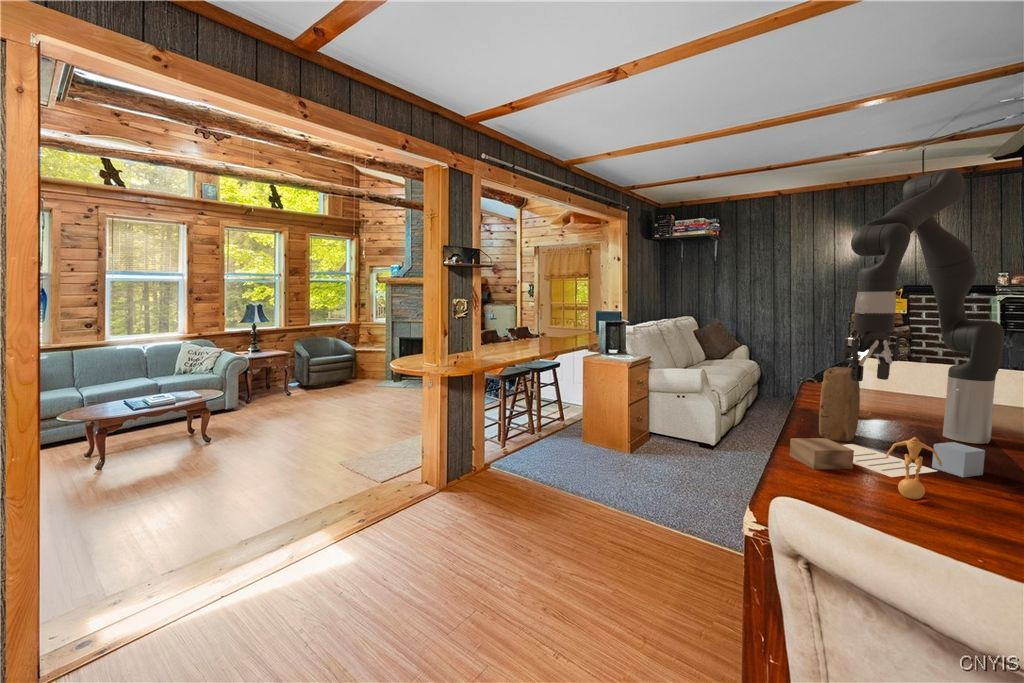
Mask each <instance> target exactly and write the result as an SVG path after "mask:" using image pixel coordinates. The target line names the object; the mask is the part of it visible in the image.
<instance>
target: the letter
mask: <svg viewBox="0 0 1024 683" xmlns="http://www.w3.org/2000/svg"><path fill="white" fill-rule="evenodd" d="M842 445H843V446H845V447H847V448H850V449H852V450H854V457H853V465H857V466H860V467H863V468H865V469H868V470H871V471H874V472H875V473H879V474H882V475H885V476H887V477H890V478H895V477H901V476H904V477H905V476H906V469H905V467H906V466H905V463H904V461H905V459H902V458H899V457H895V456H893V455H890V456H889V457H887V458H886V455H887V453H883V452H880V451H877V450H873V449H872V448H867V447H864V446H861V445H858V444H856V443H849V444H842ZM908 467H909V468H910V470H909V476H911V475H915V474H916V469H918V468H917V465H916V464H915V462H912V463H911V464H909V466H908ZM934 472H938V469H935V468H932V467H931V468H930V467H927V466H924V465H922V467H921V469H920V472H919V475H920V474H926V473H927V474H928V473H934Z"/></svg>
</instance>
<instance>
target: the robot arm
mask: <svg viewBox="0 0 1024 683" xmlns="http://www.w3.org/2000/svg"><path fill="white" fill-rule="evenodd" d="M963 176H964V175H963V174H962V173H961V172H960V171H959V170H958V169H955V168H946V169H940V170H937V171H934V172H930V173H928V174H927V173H926V174H924V175H920V176H916V177H914V178H910V179H908V180H906V181H905V183H904V184H903V187H902V199H903V202H900V203H899V204H897V205H896V206H894V207H892V208H891V209H890V210H889V211H888V212H886V214H884V216H882V217H879V218H877V219H874V220H872V221H870V222H868V223H866V224H864V225H862V226H860V227H859V228H858V229H857V230H856V231H855V232H854V233H853V235H852V237H851V240H850V241H851V242H850V247H851V249H852V252H853V253H854V254H856V255H857V256H859V257H875V256H876V257H881V256H883V258H882V260H881V261H880V262H879V263H877V264H875V265H874V264H873V265H870V266H866V267H863V268H861V269H860V270H859V272H858V281H857V292H856V293H857V294H856V298H855V304H854V318H853V319H854V320H853V330H854V331H855V332H857V333H856V334H857V335H856V337H855V336H854V337H852V336H846V337H845V339H844V352H843V353H844V354H843V361H844V363H848V364H850V365H851V367H850V368H851V379H852V380H853V381H859V382H862V381H863V380H864V370H865V366H864V363H865V362H866V361H867V359H869V358H870V357H871V356H872V355H873V356H874V357H875V358H876V360H877V361H878V363H877V370H876V378H877V380H878V379H879V380H882V381H883V380H885V381H887V380H888V379H889V377H890V370H891V365H892V364H893V362H898V360H899V356H900V344H901V337H900V336H896V335H890V333H891V332H894V331H895V322H896V311H897V310H896V309H897V296H896V293H897V292H896V291H897V280H898V273H899V269H900V266H901V264H902V260H903V258H904V256H905V254H906V252H907V249H908V247H909V245H910V242H911V234H912V233H913V232H914V231H915V232H916V235H917V237H918V241H919V244H920V248H921V251H922V252H921V253H922V255H923V259H924V263H925V267H926V270H927V275H928V278H929V280H930V283H931V286H932V289H933V294H934V298H935V301H936V306H937V312H938V317H939V324H940V330H941V336H942V340H943V343H944V345H945V347H946V348H948V350H950V351H952V352H955V353H963V354H970V357H969V360H968V361H966V362H964V363H961V364H956V365H952V366H950V367H949V368H948V371H947V373H948V374H947V384H946V398H945V409H944V420H943V428H942V436H943V437H944V438H946V439H949V440H953V441H957V442H962V443H970V444H982V445H983V444H985V443H986V444H989V443H990V442H991V440H992V439H991V438H992V429H993V419H994V410H995V409H994V406H993V405H994V397H995V396H994V395H995V389H996V388H995V386H996V378H997V374H998V372H999V369H1000V367H1001V360H1002V356H1003V349H1004V345H1005V331H1004V328H1003V326H1002V325H1001V324H1000V323H999V322H997V321H995V320H994V321H993V320H982V319H981V320H978V319H969V318H968V316H967V314H966V310H965V309H966V308H965V300H966V297H967V295H968V294H969V291H970V290H971V288H972V287H973V285H974V282H975V280H976V277H977V265H976V262H975V259H974V256H973V253H972V250H971V248H970V247H969V245H967V244H966V243H965V242H963V240H961V239H959V238H958V237H956V236H955V235H954V234H952V233H950V232H949V231H947V230H946V229H945V228H944V227H942V225H940V223H939V222H938V221H937V220H936V218H935V216H934V215H936V214H937V213H939V212H941V211H943V210H944V209H946V208H948V207H950V206H952V205H954V204H955V203H958V202H959V201H960V200H961V199H962V198H963V196H964V193H965V191H966V188H965V187H966V183H965V179H964V177H963Z"/></svg>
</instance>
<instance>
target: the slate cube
mask: <svg viewBox="0 0 1024 683" xmlns="http://www.w3.org/2000/svg"><path fill="white" fill-rule="evenodd" d="M933 449H934V450H935V451H936V452H937V455H938V456H939V458H940V460H941V462H942V467H941V466H940V464H938V463H939V461H938V460H937V459H936V457H935V455H934V453H933V452H932V462H931V469H934V470H937V471H942V472H945V473H948V474H951V475H955V476H958V477H961V478H968V477H975V476H983V474H984V467H985V466H984V465H985V456H986V450H985V449H981V448H978V447H973V446H969V445H965V444H963V443H958V442H955V441H951V442H949V441H948V442H939V443H933Z"/></svg>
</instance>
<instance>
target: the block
mask: <svg viewBox="0 0 1024 683" xmlns="http://www.w3.org/2000/svg"><path fill="white" fill-rule="evenodd" d="M820 387H821V388H820V390H821V391H820V396H819V397H820V398H819V414H818V434H819V436H821V438H827V439H829V440H832V441H834V442H835V441H836V442H837V441H838V442H851V441H854V438H855V435H856V433H857V429H858V423H859V417H860V416H859V415H860V404H861V403H860V402H861V401H860V400H861V399H860V398H861V396H860V393H861V391H860V390H861V389H860V381H853V380H852V379H851V367H845V366H844V367H843V366H841V367H840V366H833V367H829V368H828V369H826V370H825V371H824V372H823V379H822V383H821V386H820Z"/></svg>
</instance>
